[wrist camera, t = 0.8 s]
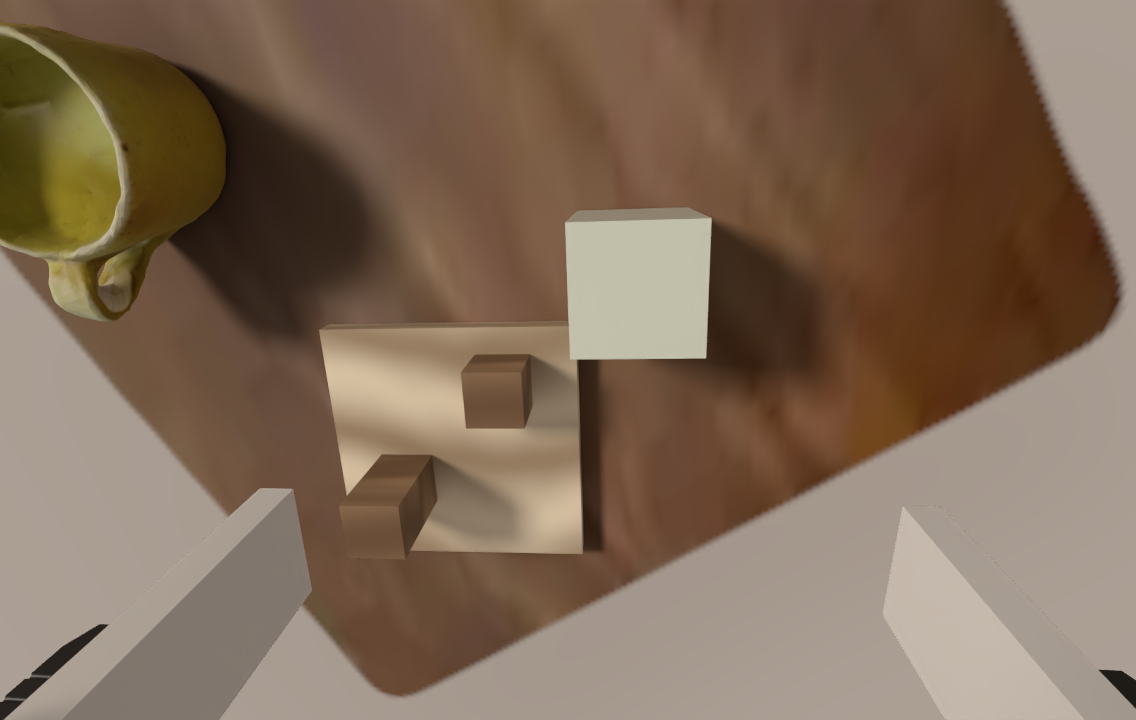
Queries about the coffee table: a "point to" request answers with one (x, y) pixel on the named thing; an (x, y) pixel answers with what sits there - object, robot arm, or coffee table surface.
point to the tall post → (389, 507)
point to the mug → (99, 161)
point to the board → (466, 461)
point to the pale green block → (638, 283)
